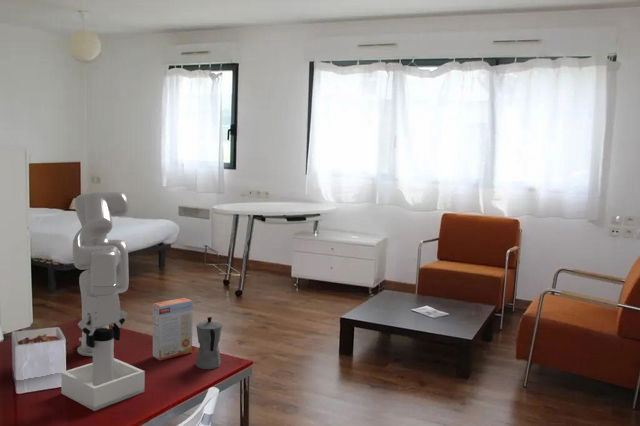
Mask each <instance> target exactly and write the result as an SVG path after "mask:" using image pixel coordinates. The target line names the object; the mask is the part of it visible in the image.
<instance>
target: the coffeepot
mask: <svg viewBox="0 0 640 426" xmlns="http://www.w3.org/2000/svg"><path fill="white" fill-rule="evenodd" d="M212 319H213V317H211V316H207V320H203V321H202V322H198V323H197V324H196V334H197V340H198V341H197V342H198V344H199V348H198V351H197V355H196V356H197V357H196V362H195V366H196V367H197V368H199V369H202V370H213V369H214V370H215V369H217V368H219V367H220V366H221V364H222V360H221V353H220V347H219V343H220V339H221V334H222V329H223V324H222V323H221V322H219V321H212Z"/></svg>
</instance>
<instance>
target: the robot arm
mask: <svg viewBox="0 0 640 426" xmlns="http://www.w3.org/2000/svg"><path fill="white" fill-rule="evenodd" d="M74 209H75V213H76V216H77V218H78V220H79V222H80V225H81V228H80V229H79V230H78V231H77V232H76V233H75V236H73V239H72V262H73V266H74V267H75V268H76V269H78V270H84V271H82V272H81V273H80V274H79V277H78V279H79V280H78V282H79V284H78V285H79V290H80V296H81V297H80V298H81V320H80V321H79V322H78V323H77V326H78V328H79V329H80V331H81V336H80V337H79V338H78V340H79V342H81V345H80V346H79V347H77V353H78V355H81V356H86V357H93V348H94V346H95V336H94V335H93V333H94V331H95V329H96V328H108V329H110V325H112V328H111V330H112V329H113V330H114V335H113V336H114V341H117V342H118V341H120V339H121V328H122V326H123V324H124V323H125V322H126V319H127V316H128V312H127V311H124V310H122V309H121V302H120V297H119V294H123V293H126V291H128V289H129V282H130V281H129V280H130V279H129V277H130V275H129V252H128V251H129V250H128V249H129V248H128V245H127V243H126V242H125V241H124V240H122V239H108V236H107V235H108V234H110V232H111V231H112V229H113V219H112V218H113V217H123V216H126V215H127V213H128V212H129V201H128V197H127V196H126V194H125V193H123V192H121V191H120V192H117V191H116V192H114V191H101V192H100V191H95V192H92V193H91V192H90V193H82V194H80V195H78V196H76V197H75V200H74Z"/></svg>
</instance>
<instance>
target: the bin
mask: <svg viewBox="0 0 640 426" xmlns="http://www.w3.org/2000/svg"><path fill="white" fill-rule="evenodd" d="M60 373H61V376H60V377H61V379H60V380H61V383H60V384H61V394H62V395H64V396H66V397H68V398H69V399H71V400H73V401H75V402H77V403H79V404H80V405H82V406H84V407H86V408H88V409H90V410H92V411H93V412H96V411H98V410H101V409H104V408H106V407H108V406H111V405H113V404H114V405H115V404H117V403H119V402H121V401H124V400H126V399H129V398H132V397H135V396H138V395H140V394H143V393H145V388H146V387H145V383H146V382H145V378H146V376H145V375H146V371H145V370H144V369H143V370H142V369H141V368H138V367H136V366H134V365H131V364H130V363H127V362H124V361H122V360H120V359H118V358H115V357H114V374H113V380H112V381H110V382H107V383H104V384H101V385H98V386H94V385H93V362H91V363H87V364H83V365H81V366H77V367H74V368H72V369H71V368H70V369H67V370H64V371H61V372H60Z"/></svg>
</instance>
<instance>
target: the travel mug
mask: <svg viewBox="0 0 640 426" xmlns="http://www.w3.org/2000/svg"><path fill="white" fill-rule="evenodd" d="M93 335H94V336H95V346H94V348H93V356H92V363H93V385H94V386H98V385H101V384H104V383H107V382H110V381H112V380H113V374H114V358H115V353H114V350H115V349H114V347H115V344H114V343H115V339H114V336H113V335H114V330H113V329H112V328H109V329H108V328H96V329H95V331H94V333H93Z"/></svg>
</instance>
